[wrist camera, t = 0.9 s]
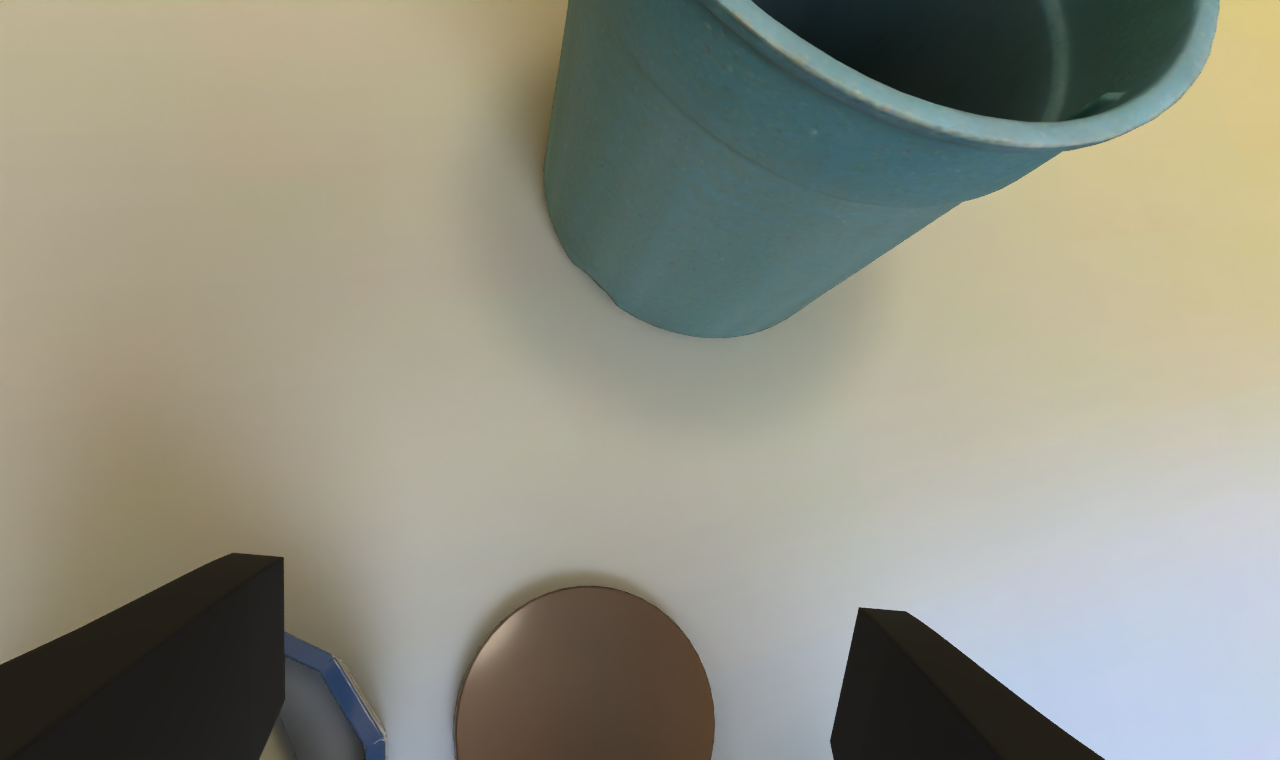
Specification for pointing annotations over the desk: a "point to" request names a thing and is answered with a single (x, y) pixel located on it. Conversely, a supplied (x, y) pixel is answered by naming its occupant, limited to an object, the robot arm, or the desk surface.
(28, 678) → the robot arm
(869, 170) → the flower pot
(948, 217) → the desk surface
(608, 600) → the walnut coaster
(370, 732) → the blue ring
